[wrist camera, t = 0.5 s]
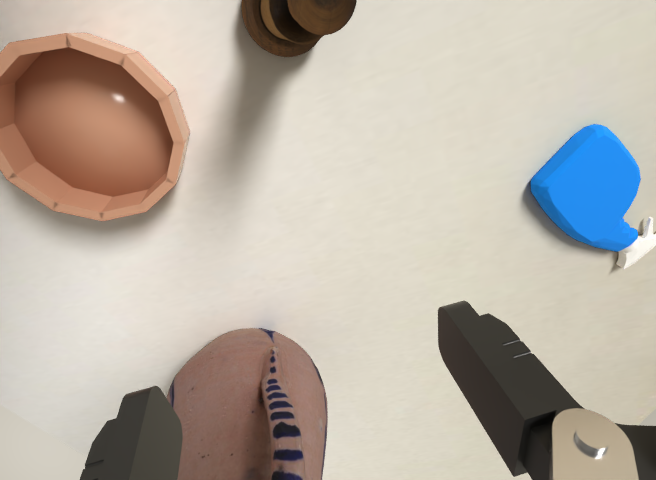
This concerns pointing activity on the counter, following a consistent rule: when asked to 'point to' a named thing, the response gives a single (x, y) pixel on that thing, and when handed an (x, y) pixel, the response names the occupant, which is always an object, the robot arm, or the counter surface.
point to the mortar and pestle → (294, 22)
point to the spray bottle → (594, 193)
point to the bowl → (88, 126)
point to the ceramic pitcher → (251, 410)
